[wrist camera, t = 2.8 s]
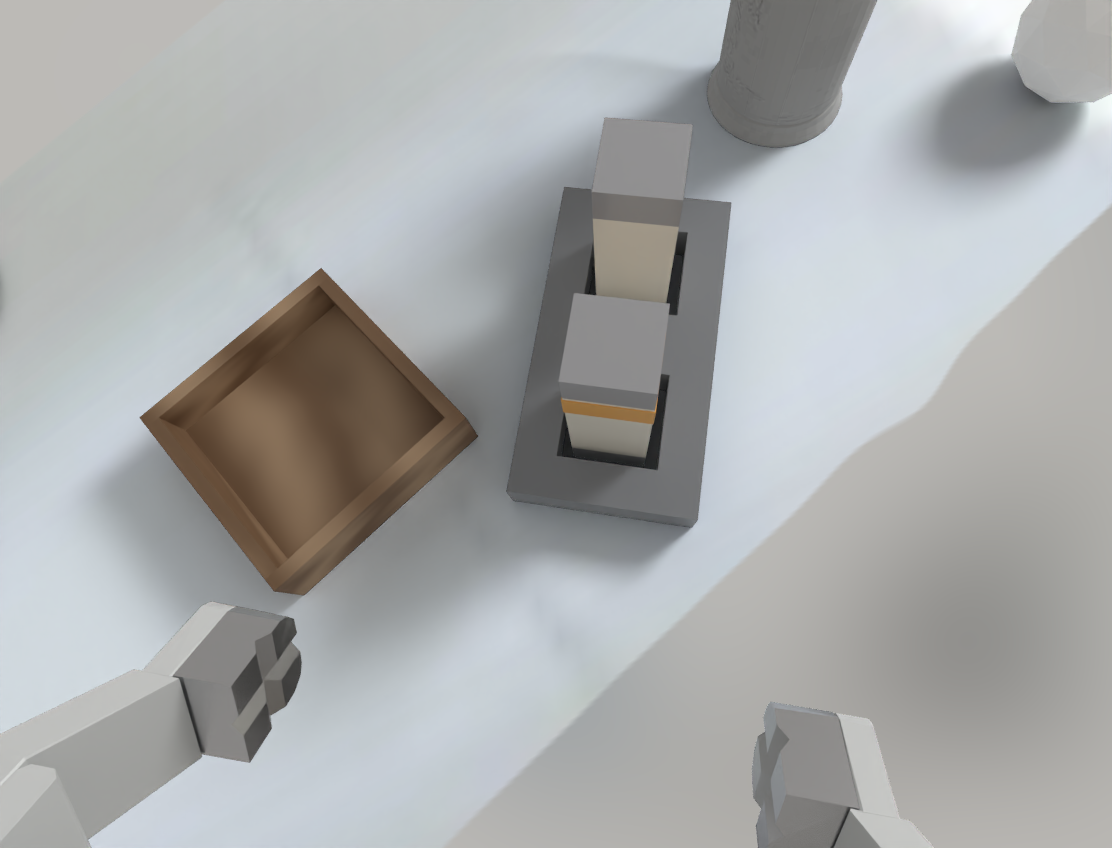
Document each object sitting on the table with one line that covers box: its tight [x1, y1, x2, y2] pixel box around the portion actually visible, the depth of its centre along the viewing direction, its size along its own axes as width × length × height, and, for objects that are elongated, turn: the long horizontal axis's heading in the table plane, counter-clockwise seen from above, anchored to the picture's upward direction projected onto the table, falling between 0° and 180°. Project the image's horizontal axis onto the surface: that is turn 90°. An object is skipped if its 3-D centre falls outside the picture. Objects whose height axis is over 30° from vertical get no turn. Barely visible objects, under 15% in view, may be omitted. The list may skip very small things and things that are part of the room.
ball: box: [1011, 0, 1112, 103], centre depth 40 cm, size 8×8×8 cm
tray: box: [140, 268, 478, 595], centre depth 38 cm, size 13×13×4 cm
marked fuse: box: [558, 293, 670, 467], centre depth 33 cm, size 4×4×12 cm
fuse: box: [592, 118, 693, 303], centre depth 36 cm, size 4×4×12 cm
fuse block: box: [506, 187, 731, 528], centre depth 39 cm, size 19×10×2 cm, turn 171°
